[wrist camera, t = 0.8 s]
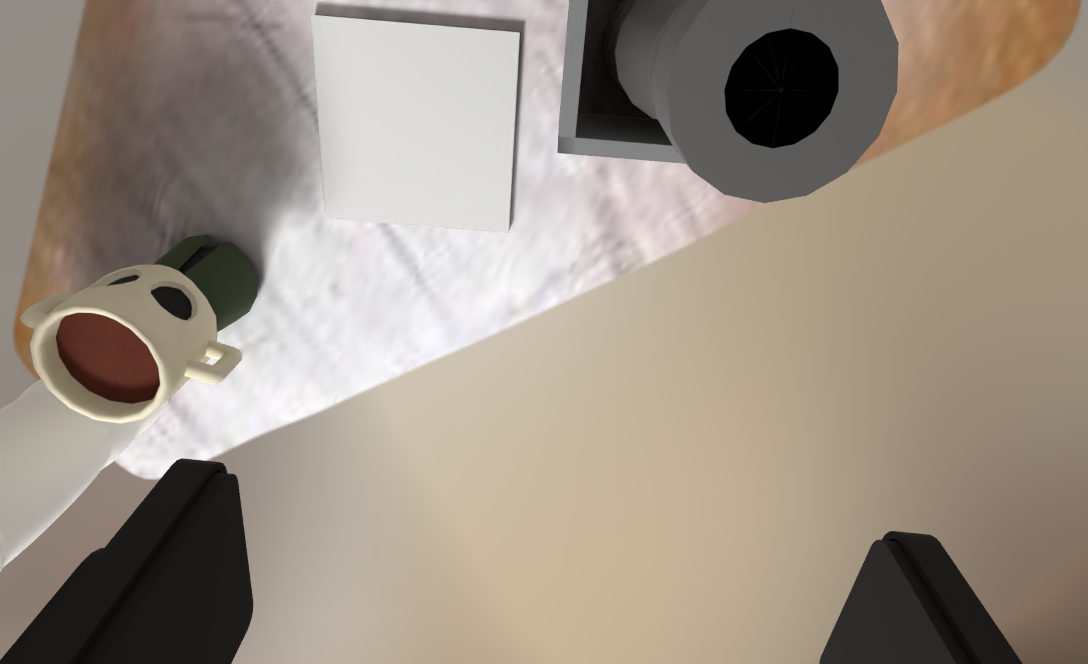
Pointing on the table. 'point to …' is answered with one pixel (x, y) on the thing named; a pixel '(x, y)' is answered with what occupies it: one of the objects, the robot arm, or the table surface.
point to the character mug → (142, 331)
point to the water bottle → (50, 461)
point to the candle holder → (759, 85)
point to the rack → (602, 130)
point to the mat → (416, 122)
